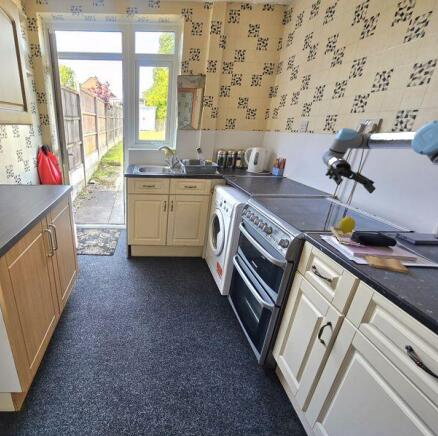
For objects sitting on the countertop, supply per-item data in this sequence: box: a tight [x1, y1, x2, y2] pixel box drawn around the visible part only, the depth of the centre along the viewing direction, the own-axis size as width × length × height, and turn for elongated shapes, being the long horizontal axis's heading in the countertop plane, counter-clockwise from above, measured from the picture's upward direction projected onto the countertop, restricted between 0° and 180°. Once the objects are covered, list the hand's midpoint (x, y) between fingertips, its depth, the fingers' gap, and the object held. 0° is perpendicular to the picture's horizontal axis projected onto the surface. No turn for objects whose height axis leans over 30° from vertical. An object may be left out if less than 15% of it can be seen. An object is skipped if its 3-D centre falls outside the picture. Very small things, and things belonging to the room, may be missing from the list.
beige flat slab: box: [329, 225, 360, 245], centre depth 107 cm, size 9×17×1 cm, turn 156°
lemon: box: [338, 216, 356, 233], centre depth 109 cm, size 6×6×8 cm
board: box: [364, 256, 410, 274], centre depth 87 cm, size 10×8×1 cm
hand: (356, 186), depth 107 cm, fingers open, 13 cm apart
